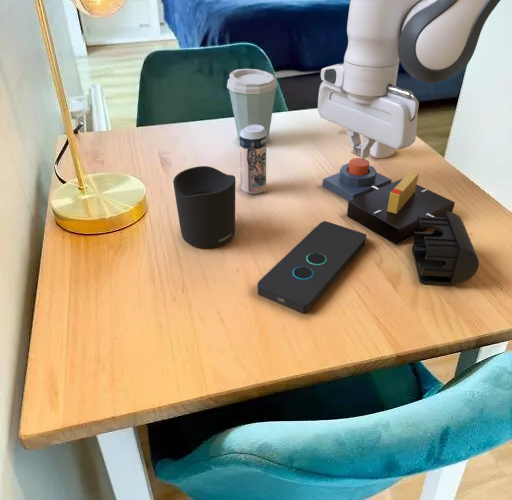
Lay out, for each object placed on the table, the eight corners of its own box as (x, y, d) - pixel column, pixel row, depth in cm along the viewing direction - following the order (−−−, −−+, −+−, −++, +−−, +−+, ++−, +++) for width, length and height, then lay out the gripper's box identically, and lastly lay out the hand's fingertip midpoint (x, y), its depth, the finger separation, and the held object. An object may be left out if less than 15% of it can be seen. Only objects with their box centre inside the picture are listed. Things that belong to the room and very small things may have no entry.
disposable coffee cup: (280, 134, 117) (282, 68, 108) (271, 154, 108) (272, 83, 99) (236, 131, 119) (234, 65, 110) (223, 149, 110) (220, 80, 101)
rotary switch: (396, 190, 94) (398, 175, 93) (456, 220, 86) (460, 203, 84) (342, 213, 88) (343, 197, 86) (401, 248, 79) (405, 231, 77)
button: (357, 166, 96) (359, 156, 95) (372, 173, 93) (373, 162, 92) (344, 171, 94) (345, 161, 93) (358, 178, 92) (359, 168, 91)
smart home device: (254, 283, 69) (322, 219, 83) (254, 293, 70) (321, 228, 84) (307, 305, 66) (369, 234, 79) (306, 315, 67) (368, 243, 80)
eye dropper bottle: (367, 150, 109) (374, 94, 102) (393, 149, 109) (402, 94, 102) (371, 158, 106) (378, 102, 99) (398, 158, 106) (407, 101, 99)
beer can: (254, 198, 92) (253, 135, 85) (235, 189, 95) (233, 128, 88) (271, 188, 95) (272, 127, 88) (253, 181, 98) (252, 121, 91)
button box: (359, 172, 101) (361, 156, 99) (390, 187, 95) (393, 170, 93) (322, 186, 96) (323, 169, 94) (352, 203, 91) (354, 186, 89)
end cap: (472, 289, 71) (484, 250, 67) (420, 286, 71) (429, 247, 67) (457, 249, 79) (467, 211, 75) (410, 246, 79) (418, 209, 76)
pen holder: (180, 253, 78) (174, 197, 72) (178, 221, 86) (172, 168, 80) (240, 247, 79) (239, 191, 74) (233, 217, 87) (231, 163, 81)
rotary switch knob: (406, 189, 88) (410, 169, 86) (415, 191, 88) (419, 172, 85) (386, 211, 82) (390, 191, 80) (396, 214, 82) (400, 193, 79)
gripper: (433, 90, 78) (417, 171, 86) (340, 61, 92) (333, 134, 100) (406, 98, 75) (392, 181, 83) (314, 67, 89) (309, 141, 97)
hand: (359, 155), depth 92 cm, fingers closed
